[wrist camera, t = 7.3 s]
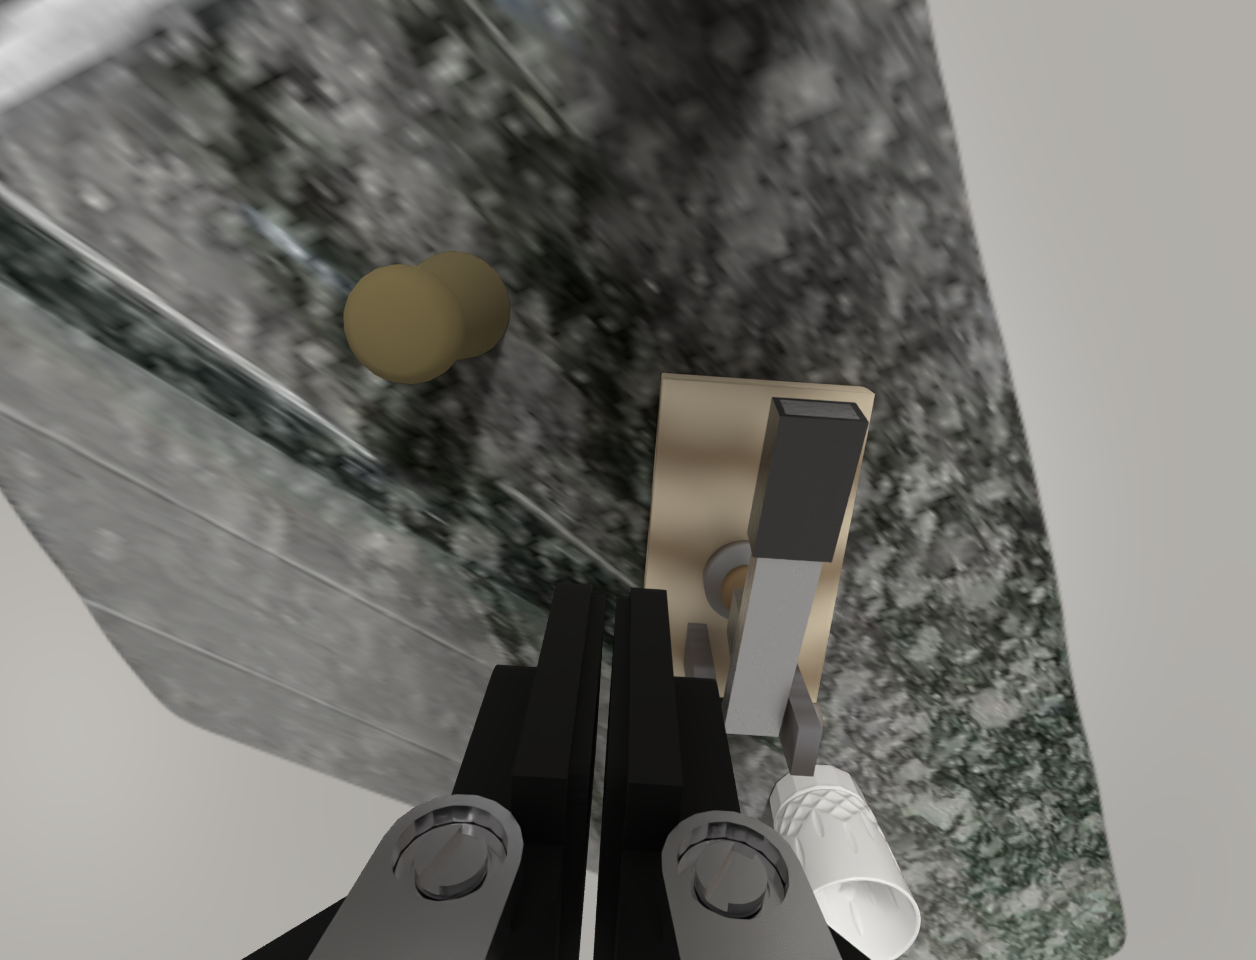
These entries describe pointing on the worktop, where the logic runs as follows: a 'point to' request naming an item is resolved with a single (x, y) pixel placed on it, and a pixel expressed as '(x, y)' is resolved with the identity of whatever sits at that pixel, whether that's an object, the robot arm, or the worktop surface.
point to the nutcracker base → (730, 532)
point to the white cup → (846, 861)
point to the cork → (425, 316)
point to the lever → (787, 552)
